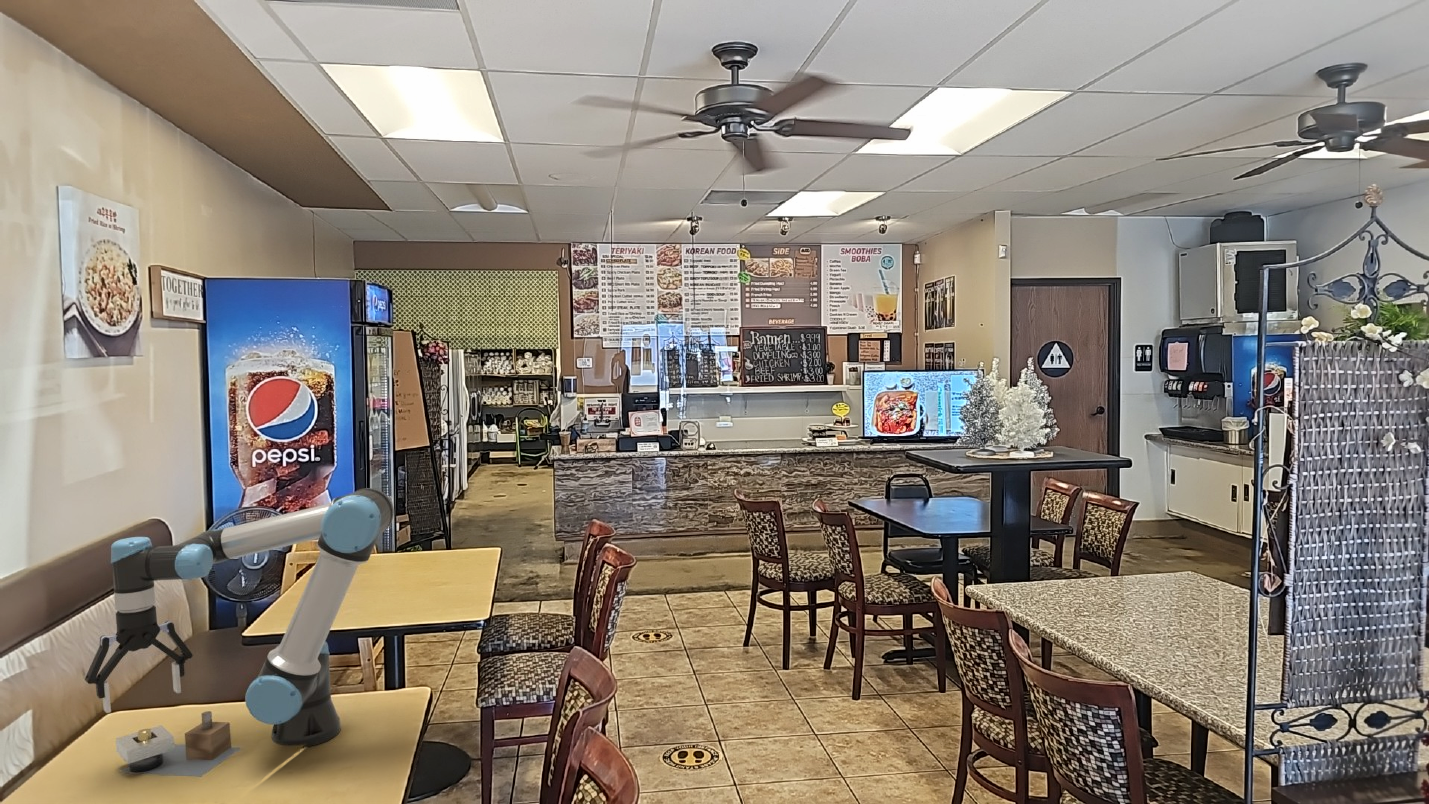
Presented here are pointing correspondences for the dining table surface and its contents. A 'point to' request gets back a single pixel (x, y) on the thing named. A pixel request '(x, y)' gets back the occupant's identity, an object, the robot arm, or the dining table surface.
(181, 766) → the board
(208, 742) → the stand
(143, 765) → the hub
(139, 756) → the silver square ring
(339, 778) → the dining table surface
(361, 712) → the dining table surface
